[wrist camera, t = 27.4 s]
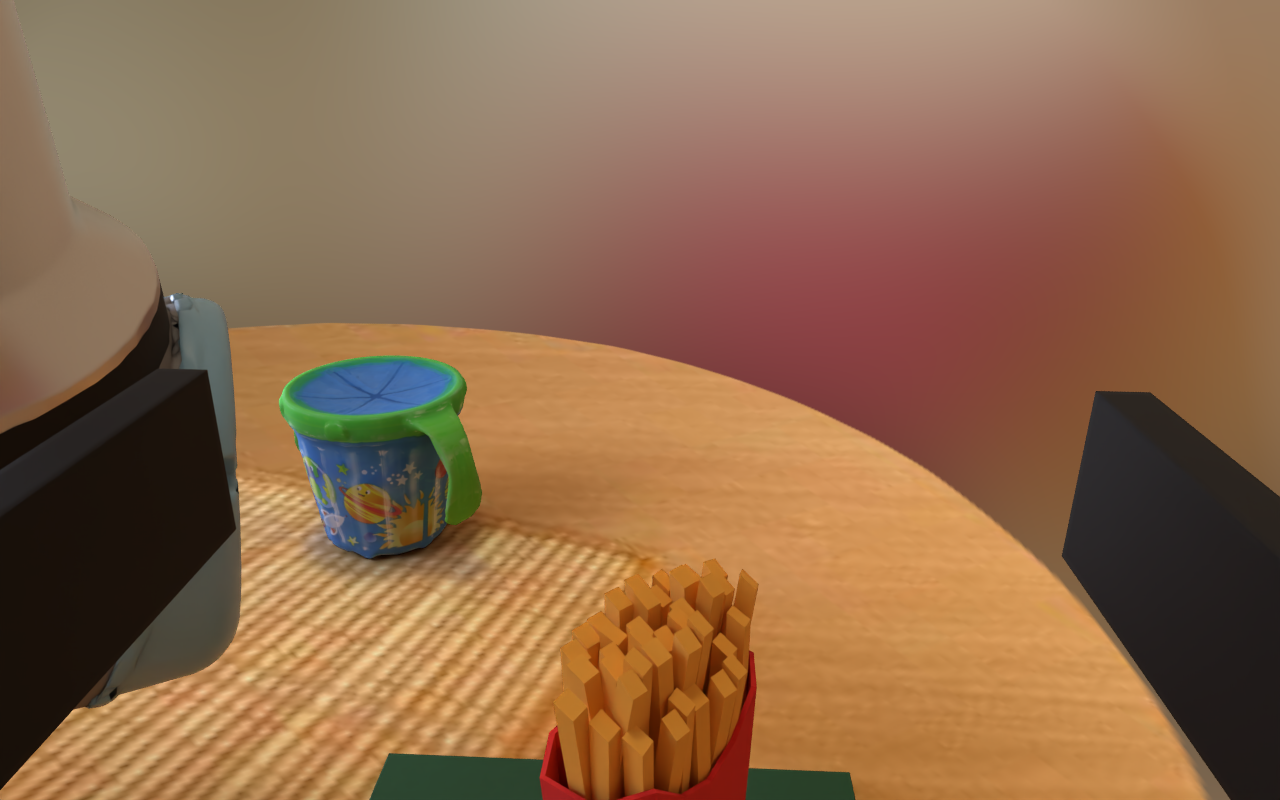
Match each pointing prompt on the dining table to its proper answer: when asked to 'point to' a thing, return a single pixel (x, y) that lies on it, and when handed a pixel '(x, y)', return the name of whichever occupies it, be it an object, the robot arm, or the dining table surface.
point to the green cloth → (511, 791)
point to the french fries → (657, 693)
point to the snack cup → (384, 450)
